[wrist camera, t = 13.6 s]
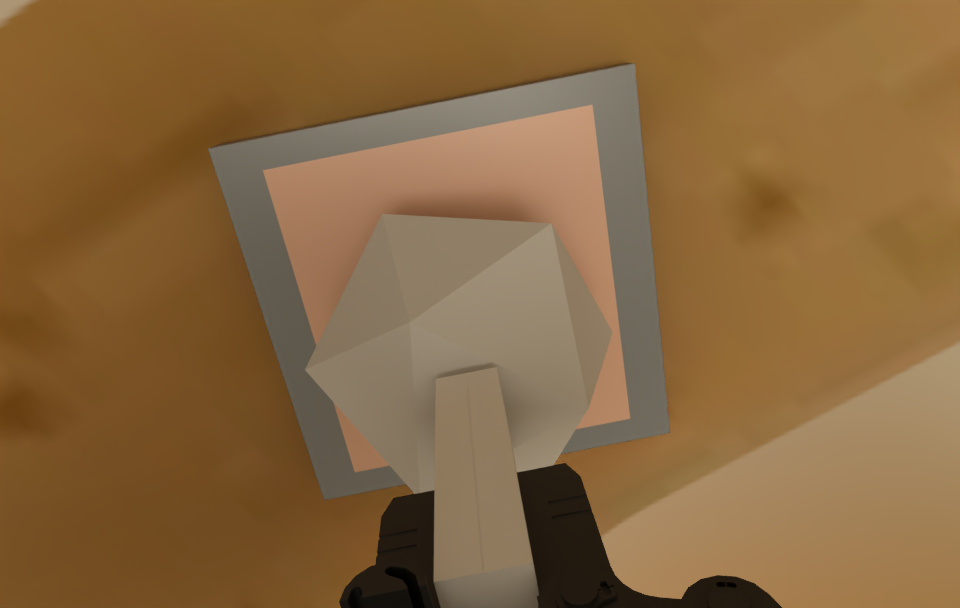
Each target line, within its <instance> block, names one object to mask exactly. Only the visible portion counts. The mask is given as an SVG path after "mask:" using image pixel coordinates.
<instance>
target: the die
mask: <svg viewBox="0 0 960 608" xmlns="http://www.w3.org/2000/svg"><path fill="white" fill-rule="evenodd" d="M612 333H613V332H612V330H611V328H610V326H609V325H608V323H607V321H606V319H605V318H604V316H603V314H602V312H601V310H600V309H599V307H598V305H597V303H596V302H595V300H594V298H593V296H592V294H591V293H590V291H589V289H588V287H587V286H586V284H585V282H584V280H583V278H582V277H581V275H580V273H579V271H578V269H577V268H576V266H575V264H574V262H573V261H572V259H571V257H570V255H569V253H568V252H567V250H566V248H565V246H564V245H563V243H562V241H561V239H560V237H559V236H558V234H557V232H556V230H555V229H554V227H553V225H552V223H538V222H520V221H502V220H484V219H466V218H448V217H431V216H413V215H395V214H382V215H381V217H380V219H379V221H378V223H377V225H376V227H375V229H374V231H373V233H372V235H371V237H370V239H369V241H368V243H367V245H366V247H365V249H364V251H363V253H362V255H361V257H360V259H359V261H358V264H357V266H356V268H355V270H354V272H353V274H352V276H351V278H350V280H349V282H348V284H347V286H346V288H345V290H344V292H343V294H342V296H341V298H340V300H339V302H338V304H337V306H336V308H335V310H334V312H333V314H332V316H331V318H330V320H329V322H328V324H327V326H326V328H325V330H324V332H323V334H322V336H321V338H320V340H319V342H318V344H317V346H316V348H315V350H314V352H313V354H312V356H311V358H310V360H309V362H308V364H307V366H306V368H305V371H306V372H307V373H308V374H309V375H310V376H311V377H312V378H313V380H314V381H315V382H316V383H317V384H318V385H319V386H320V387H321V389H322V390H323V391H324V392H325V393H326V394H327V395H328V397H329V398H330V399H331V400H332V401H333V402H334V403H335V404H336V406H337V407H338V408H339V409H340V410H341V411H342V412H343V413H344V415H345V416H346V417H347V418H348V419H349V420H350V421H351V423H352V424H353V425H354V426H355V427H356V428H357V429H358V430H359V432H360V433H361V434H362V435H363V436H364V437H365V438H366V439H367V441H368V442H369V443H370V444H371V445H372V446H373V447H374V448H375V450H376V451H377V452H378V453H379V454H380V455H381V456H382V458H383V459H384V460H385V461H386V462H387V463H388V464H389V465H390V467H391V468H392V469H393V470H394V471H395V472H396V473H397V474H398V476H399V477H400V478H401V479H402V480H403V481H404V482H405V484H406V485H407V486H408V487H409V488H410V489H411V490H412V491H413V493H414V494H417V493H422V492H427V491H432V490H435V393H436V379H438V378H443V377H448V376H453V375H458V374H464V373H469V372H474V371H479V370H484V369H489V368H494V367H497V371H498V376H499V381H500V386H501V391H502V396H503V401H504V406H505V411H506V417H507V422H508V427H509V432H510V437H511V442H512V447H513V452H514V457H515V462H516V467H517V472H522V471H527V470H532V469H537V468H543V467H548V466H553V465H554V463H555V462H556V460H557V459H558V457H559V455H560V454H561V452H562V450H563V449H564V447H565V446H566V444H567V442H568V441H569V439H570V438H571V436H572V434H573V433H574V431H575V429H576V428H577V426H578V425H579V423H580V421H581V420H582V418H583V417H584V415H585V413H586V412H587V410H588V408H589V406H590V403H591V399H592V396H593V393H594V390H595V387H596V384H597V380H598V377H599V374H600V371H601V368H602V365H603V361H604V358H605V355H606V352H607V349H608V346H609V342H610V339H611V336H612Z"/></svg>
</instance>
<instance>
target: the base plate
mask: <svg viewBox="0 0 960 608" xmlns="http://www.w3.org/2000/svg"><path fill="white" fill-rule="evenodd" d="M208 150H209V153H210V156H211V159H212V162H213V165H214V168H215V171H216V174H217V177H218V180H219V183H220V186H221V189H222V192H223V195H224V198H225V201H226V204H227V207H228V210H229V213H230V216H231V220H232V223H233V226H234V229H235V232H236V235H237V238H238V241H239V244H240V247H241V250H242V253H243V256H244V259H245V262H246V265H247V268H248V271H249V274H250V277H251V280H252V283H253V286H254V289H255V292H256V295H257V298H258V301H259V304H260V307H261V310H262V313H263V316H264V319H265V322H266V325H267V328H268V331H269V335H270V338H271V341H272V344H273V347H274V350H275V353H276V356H277V359H278V362H279V365H280V368H281V371H282V374H283V377H284V380H285V383H286V386H287V389H288V392H289V395H290V398H291V401H292V404H293V407H294V410H295V413H296V416H297V419H298V422H299V425H300V428H301V431H302V434H303V437H304V440H305V443H306V446H307V450H308V453H309V456H310V459H311V462H312V465H313V468H314V471H315V474H316V477H317V480H318V483H319V486H320V489H321V492H322V495H323V498H324V500H328V499H333V498H338V497H343V496H348V495H353V494H358V493H364V492H369V491H374V490H379V489H384V488H389V487H394V486H400V485H405V482H404V481H403V480H402V479H401V478H400V477H399V476H398V474H397V473H396V472H395V471H394V470H393V469H392V468H391V467H390V465H389V464H388V463H387V462H386V461H385V460H384V459H383V458H382V456H381V455H380V454H379V453H378V452H377V451H376V450H375V448H374V447H373V446H372V445H371V444H370V443H369V442H368V441H367V439H366V438H365V437H364V436H363V435H362V434H361V433H360V432H359V430H358V429H357V428H356V427H355V426H354V425H353V424H352V423H351V421H350V420H349V419H348V418H347V417H346V416H345V415H344V413H343V412H342V411H341V410H340V409H339V408H338V407H337V406H336V404H335V403H334V402H333V401H332V400H331V399H330V398H329V397H328V395H327V394H326V393H325V392H324V391H323V390H322V389H321V387H320V386H319V385H318V384H317V383H316V382H315V381H314V380H313V378H312V377H311V376H310V375H309V374H308V373H307V372H306V371H305V368H306V366H307V364H308V362H309V360H310V358H311V356H312V354H313V352H314V350H315V348H316V346H317V344H318V342H319V340H320V338H321V336H322V334H323V332H324V330H325V328H326V326H327V324H328V322H329V320H330V318H331V316H332V314H333V312H334V310H335V308H336V306H337V304H338V302H339V300H340V298H341V296H342V294H343V292H344V290H345V288H346V286H347V284H348V282H349V280H350V278H351V276H352V274H353V272H354V270H355V268H356V266H357V264H358V261H359V259H360V257H361V255H362V253H363V251H364V249H365V247H366V245H367V243H368V241H369V239H370V237H371V235H372V233H373V231H374V229H375V227H376V225H377V223H378V221H379V219H380V217H381V215H382V214H395V215H413V216H431V217H448V218H466V219H484V220H502V221H520V222H538V223H552V225H553V227H554V229H555V230H556V232H557V234H558V236H559V237H560V239H561V241H562V243H563V245H564V246H565V248H566V250H567V252H568V253H569V255H570V257H571V259H572V261H573V262H574V264H575V266H576V268H577V269H578V271H579V273H580V275H581V277H582V278H583V280H584V282H585V284H586V286H587V287H588V289H589V291H590V293H591V294H592V296H593V298H594V300H595V302H596V303H597V305H598V307H599V309H600V310H601V312H602V314H603V316H604V318H605V319H606V321H607V323H608V325H609V326H610V328H611V330H612V332H613V333H612V336H611V339H610V342H609V346H608V349H607V352H606V355H605V358H604V361H603V365H602V368H601V371H600V374H599V377H598V380H597V384H596V387H595V390H594V393H593V396H592V399H591V403H590V406H589V408H588V410H587V412H586V413H585V415H584V417H583V418H582V420H581V421H580V423H579V425H578V426H577V428H576V429H575V431H574V433H573V434H572V436H571V438H570V439H569V441H568V442H567V444H566V446H565V447H564V449H563V450H562V452H561V454H564V453H569V452H574V451H579V450H585V449H590V448H595V447H600V446H605V445H610V444H615V443H621V442H626V441H631V440H636V439H641V438H646V437H651V436H657V435H662V434H667V433H670V427H669V417H668V407H667V396H666V386H665V375H664V365H663V354H662V344H661V334H660V323H659V313H658V302H657V292H656V281H655V271H654V261H653V250H652V240H651V229H650V219H649V209H648V198H647V188H646V177H645V167H644V156H643V146H642V136H641V125H640V115H639V104H638V94H637V83H636V73H635V63H624V64H619V65H614V66H609V67H604V68H599V69H594V70H589V71H584V72H579V73H574V74H569V75H564V76H559V77H554V78H549V79H544V80H539V81H534V82H529V83H524V84H519V85H514V86H509V87H504V88H499V89H494V90H489V91H484V92H479V93H474V94H469V95H464V96H459V97H454V98H449V99H444V100H439V101H434V102H429V103H424V104H419V105H414V106H409V107H404V108H399V109H394V110H389V111H384V112H379V113H374V114H369V115H364V116H359V117H354V118H349V119H344V120H339V121H334V122H329V123H324V124H319V125H314V126H309V127H304V128H299V129H294V130H289V131H284V132H279V133H274V134H269V135H264V136H259V137H254V138H249V139H244V140H239V141H234V142H229V143H224V144H219V145H216V146H214V147H211V148H209V149H208Z"/></svg>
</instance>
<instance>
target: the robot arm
mask: <svg viewBox="0 0 960 608" xmlns="http://www.w3.org/2000/svg"><path fill="white" fill-rule="evenodd" d="M379 537H380V540H379V542H378V550H377V553H378V556H377V558H376V565H374V566H371V567H369V568H367V569H366V570H364V571H363V572H361V573H360V574H358V575H357V576H355V577H354V579H353V580H352V581H351V582H350V583H349V584H348V585H347V586H346V588H345V589H344V592H343V594H342V596H341V599H340V601H339V602H340V605H341V608H782V607H781V606H780V605H779V604H778V603H777V602H776V601H775V600H774V599H773V598H772V597H771V596H770V595H769V594H768V593H767V592H765V591H764V590H762V589H761V588H760V587H758V586H757V585H756V584H754V583H752V582H749V581H746V580H744V579H741V578H738V577H732V576H718V575H717V576H713V577H709V578H704V579H700V580H699V581H697V582H696V583H695V584H693V585H691V586H690V587H688V589H687V590H686V592H685V594H684V596H683V597H682V599H670V598H660V597H654V596H648V595H644V594H642V593H639V592H636V591H634V590H632V589H631V588H629V587H628V586H626V585H624V584H623V583H622V582H621V581H620V580H619V579H618V578H617V577H616V576H615V574H614V572H613V570H612V568H611V566H610V563H609V560H608V557H607V554H606V551H605V548H604V545H603V543H602V539H601V536H600V533H599V530H598V527H597V524H596V521H595V518H594V515H593V513H592V510H591V507H590V504H589V501H588V498H587V495H586V492H585V489H584V486H583V483H582V480H581V477H580V476H579V475H578V474H577V473H576V472H575V471H574V470H572V469H571V468H570V467H569V466H568V465H567V464H566V463H563V464H558V465H553V466H548V467H543V468H537V469H532V470H527V471H522V472H517V467H516V462H515V457H514V452H513V447H512V442H511V437H510V432H509V427H508V422H507V417H506V411H505V406H504V401H503V396H502V391H501V386H500V381H499V376H498V371H497V367H494V368H489V369H484V370H479V371H474V372H469V373H464V374H458V375H453V376H448V377H443V378H438V379H436V393H435V490H432V491H427V492H422V493H417V494H412V495H406V496H401V497H396V498H393V500H392V501H391V503H390V504H389V506H388V508H387V509H386V511H385V512H384V514H383V515H382V517H381V525H380V534H379Z"/></svg>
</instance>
